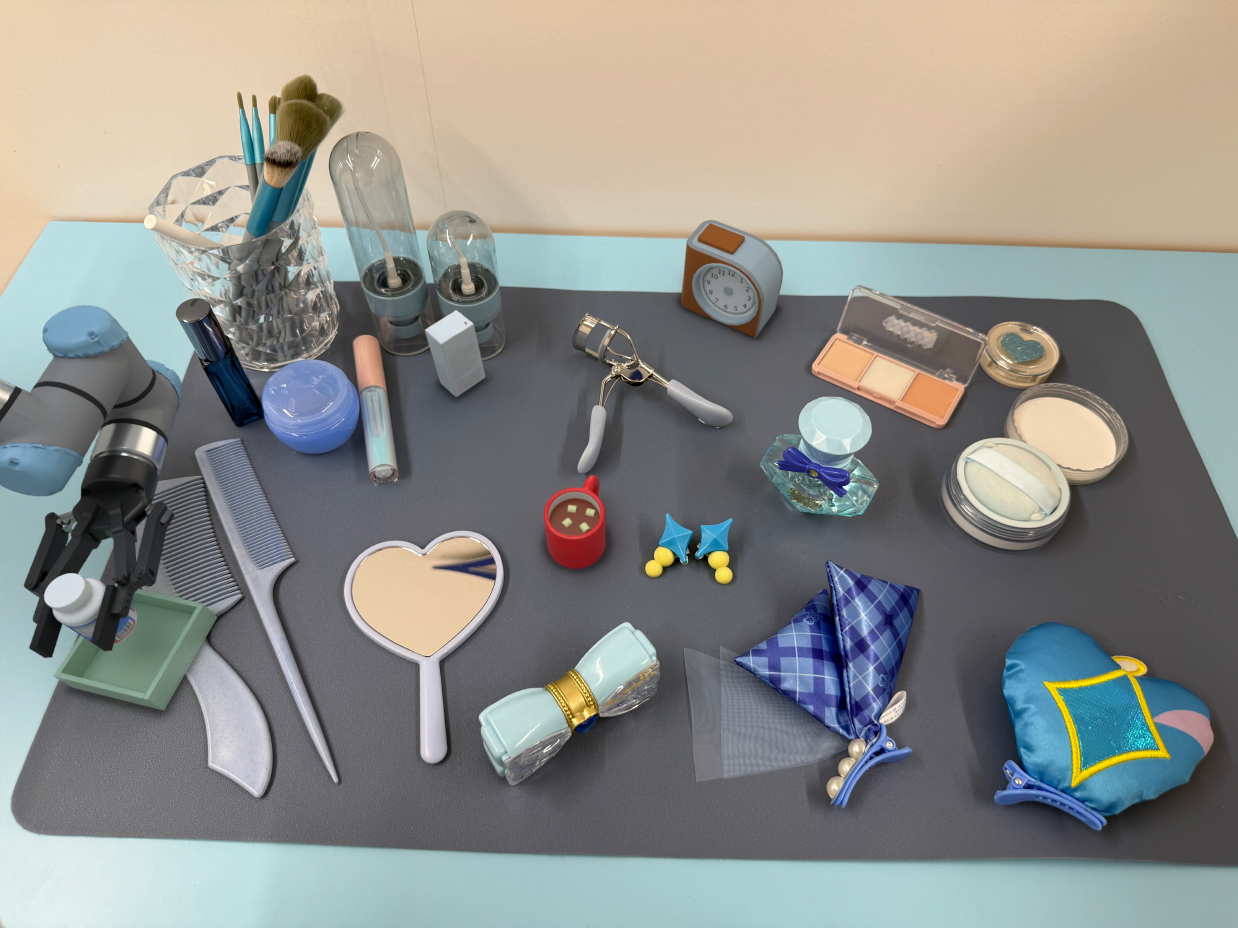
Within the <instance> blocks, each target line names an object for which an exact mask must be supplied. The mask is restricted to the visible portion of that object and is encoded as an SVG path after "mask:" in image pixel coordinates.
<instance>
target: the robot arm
mask: <svg viewBox="0 0 1238 928" xmlns="http://www.w3.org/2000/svg"><path fill="white" fill-rule="evenodd" d="M42 342H43V344H44V345H45V347H46V348H47V350H46V351H48V353H50V354H51V355H52V357H53V358H51V361H50V362H49V363H48V365H47V366H46V367H45V369H44V371H43V372H42V374H41V375H40V377H39V378H38V380H37V381H36V383H35V384H34V386H33V387H32V388H31V390H30V391H28V390H26V389H24V388H21V387H19V386H17V385H14V384H12V383H10V382H9V381H6V380H4V379H2V378H0V486H1V487H3V488H5V489H6V490H9V491H11V492H15V493H17V494H20V495H25V496H31V497H37V498H38V497H50V496H54V495H56V494H58V493H60V492H62V491H63V490H64V489H65V488H66V486H67V484H68V483H69V481H70V480H71V479H72V477H73V475H74V474H75V472H76V471H77V469H78V468H79V467H81V466H82V465H83V463H84V459H85V457H86V455H87V453H88V451H89V450H90V448H91V446H92V444H93V442H94V440H95V439H96V440H95V442H94V445H93V448H92V451H91V453H90V456H89V463H87V466H86V470H85V473H84V475H83V478H82V482H81V485H80V498H79V500H78V501H77V503H76V504H75V505H74V506H73V508H72V509H71V510H70V511H68V512H64V513H62V514H58V513H56V512H54V511H51V512H48V513H47V514H46V515H45V516H44V531H43V535H42V537H41V540H40V542H39V545H38V547H37V550H36V553H35V555H34V558H33V560H32V562H31V565H30V568H29V570H28V573H27V575H26V578H25V580H24V582H23V587H24V588H25V589H26V590H27V591H28V592H30V593H31V594H33V595H34V596H36V597H37V598H38V601H37V604H36V607H35V610H34V613H33V615H32V622H33V623H34V624H35V625H36V626H35V629H34V632H33V635H32V637H31V640H30V644H29V647H28V649H29V650H31V651H32V652H34V653H36V654H37V655H39V656H40V657H42V658H43V659H48V658H49V659H50V658H53V656H54V653H55V649H56V646H57V644H58V640H59V636H60V633H61V630H62V627H63V624H62V623H61V622H59V621H58V620H57V619H56V618H55V616H54V614H53V609H52V608H51V607H50V606H48V605H47V604H46V602H45V600H44V594H45V590H46V588H47V587H48V585H49V584H50V583H51V582H52V581H53V580H55V579H56V578H58V577H60V576H62V575H64V574H69V573H75V574H79V573H80V572H81V569H82V568H83V567H84V565H85V563H86V562H87V561H88V558H89V557H90V555H91V554H92V552H93V551H94V550H97V549H98V548H99V547H100V545H101V543H102V542H103V541H104V540H108V539H113V541H112V542H113V559H114V560H113V561H114V562H113V563H114V577H111V580H112V581H113V582H115V584H117V587H116V586H115V584H107V585H106V584H105V585H106V589H105V592H104V596H103V600H102V603H101V607H100V610H99V614H98V617H97V621H96V624H95V628H94V631H93V635H92V638H91V642H92V643H93V644H95V645H96V646H98V647H99V648H100V649H102V650H103V651H112V648H113V645H114V641H115V637H116V633H117V630H118V626H119V622H120V619H121V618H126V617H127V615H128V614H129V611H130V607H131V603H132V599H133V595H134V593H135V592H136V591H137V589H141V588H143V587H150V588H151V587H153V586H154V585H155V584H156V582H157V580H158V579H157V578H158V574H159V568H160V564H161V560H162V559H161V558H162V553H163V549H164V546H165V545H164V544H165V540H166V534H167V530H168V528H169V526H170V525H171V523H172V521H173V520H174V518H175V512H174V511H172V510H171V508H170V507H169V506H168V505H167V504H166V503H165V502H164V501H158V502H156V503H153V501H154V499H155V496H156V491H157V488H158V484H159V478H160V477H159V475H160V474H161V471H162V468H163V464H164V460H165V457H166V454H167V453H166V452H167V448H168V445H169V439H170V437H171V433H172V429H173V426H174V423H175V419H176V416H177V413H178V412H179V410H180V404H181V402H180V401H181V397H182V396H181V394H182V390H183V389H182V388H183V384H182V380H181V378H180V376H179V375H178V373H176V371H175V370H174V369H171V368H168V367H167V366H166V364H164V363H162V362H159V361H156V360H153V359H145V357H144V356H143V354H142V353H141V352H140V350H139V349H138V347H137V346H136V345H135V343H134V341H133V340H132V339H131V337H130V336H129V333H128V331H127V330H125V329H124V327H123V326H122V325H121V324H120V323H119V321H118V320H117V319H116V318H115V317H114V316H113V315H112V314H111V313H110V312H109V311H108V310H106V309H105V308H103V307H100V306H98V305H91V304H89V305H87V304H79V305H78V304H77V305H74V306H70V307H67V308H64V309H62V310H61V311H59V312H56V313H55V314H54V315H52V316H51V317H50V318H49V319H48V320H47V321H46V322H45V324H44V326H43V327H42ZM144 520H145V522H144V527H143V531H142V535H141V536H142V537H141V540H140V545H139V549H138V553H137V550H136V547H137V546H136V544H137V543H138V533H137V527H138V526H139V525H140V524H142V523H143V521H144ZM75 523H76V524H75ZM74 524H75V525H74ZM73 525H74V527H73ZM69 534H70V535H69ZM69 537H70V539H69Z"/></svg>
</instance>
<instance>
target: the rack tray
mask: <svg viewBox="0 0 1238 928" xmlns="http://www.w3.org/2000/svg"><path fill="white" fill-rule="evenodd" d="M114 585H115V586H116V587H117V583H114ZM131 606H132V607H133V608H134V609H135V611H136V613H137V623H136V626H135V628H134V629H133V631H132V632H131V634H130V635H129V636H128V637H127V638H125V639H124V640H123V641H121V642H119V643H117V644H115V645H113V648H112V651H103V650H102V649H100V648H99V647H98V646H96V645H95V644H93V643H91V642H90V641H88V640H87V639H85V638H84V637H82V636H81V635H79V637H78V639H77V640H76V641H75V643H74V644H73V646H72V647H71V649H70V650H69V652H68V653H67V655H66V657H65V658H64V659H63V660H62V662H61V664H59V667H58V668H57V670H56V671H55V673H54V674H53V677H54V678H55V679H57V680H59V681H60V682H62V683H64V684H66V685H67V686H69V687H71V688H72V689H75V690H80V691H83V692H88V693H92V694H95V695H100V696H104V697H108V698H112V699H116V700H120V701H124V702H128V703H131V704H134V705H135V704H136V705H140V706H142V707H143V706H144V707H148V708H151V709H155V710H160V711H162V712H163V711H165V710H166V709H167V706H168V704H169V703H170V701H171V700H172V697H173V696H174V694H175V692H176V691H177V689H178V687H179V686H180V684H181V683H182V680H183V678H184V676H185V674H186V673H187V671H188V670H189V668H190V666H191V664H192V662H193V661H194V659H195V657H196V656H197V654H198V652H199V650H200V648H201V646H202V645H203V643H204V642H205V639H206V638H207V636H208V634H209V632H210V631H211V629H212V627H213V626H214V624H215V622H216V620H217V619H218V616H216V615H215V614H214V613H213V611H212V610H210V609H209V607H208V606H207V605H205V604H204V603H201V602H197V601H193V600H189V599H184V598H180V597H177V596H176V597H175V596H171V595H166V594H162V593H158V592H154V591H151V590H145V589H141V588H138V589H137V591H136V592H135V593H134V595H133V599H132V603H131Z"/></svg>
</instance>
